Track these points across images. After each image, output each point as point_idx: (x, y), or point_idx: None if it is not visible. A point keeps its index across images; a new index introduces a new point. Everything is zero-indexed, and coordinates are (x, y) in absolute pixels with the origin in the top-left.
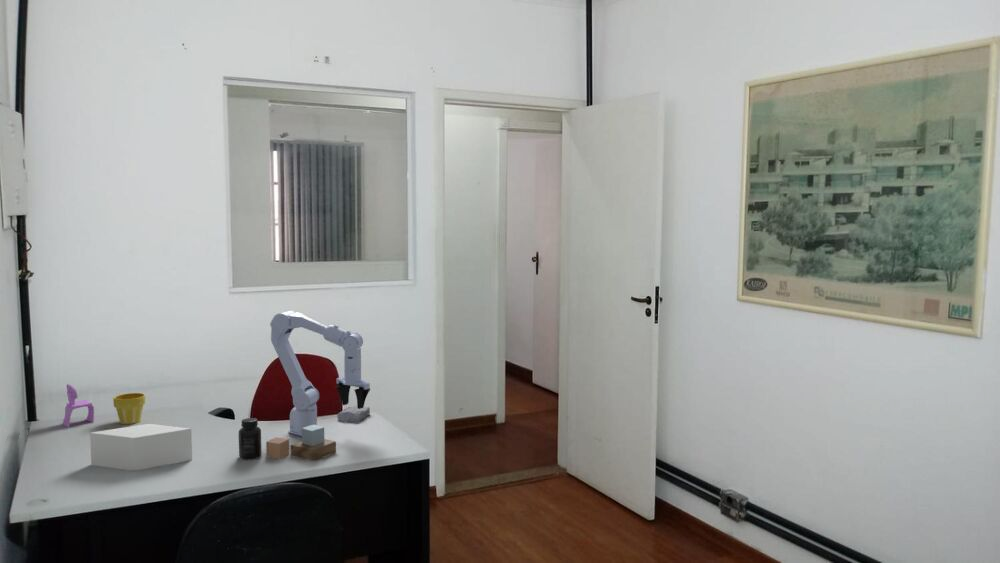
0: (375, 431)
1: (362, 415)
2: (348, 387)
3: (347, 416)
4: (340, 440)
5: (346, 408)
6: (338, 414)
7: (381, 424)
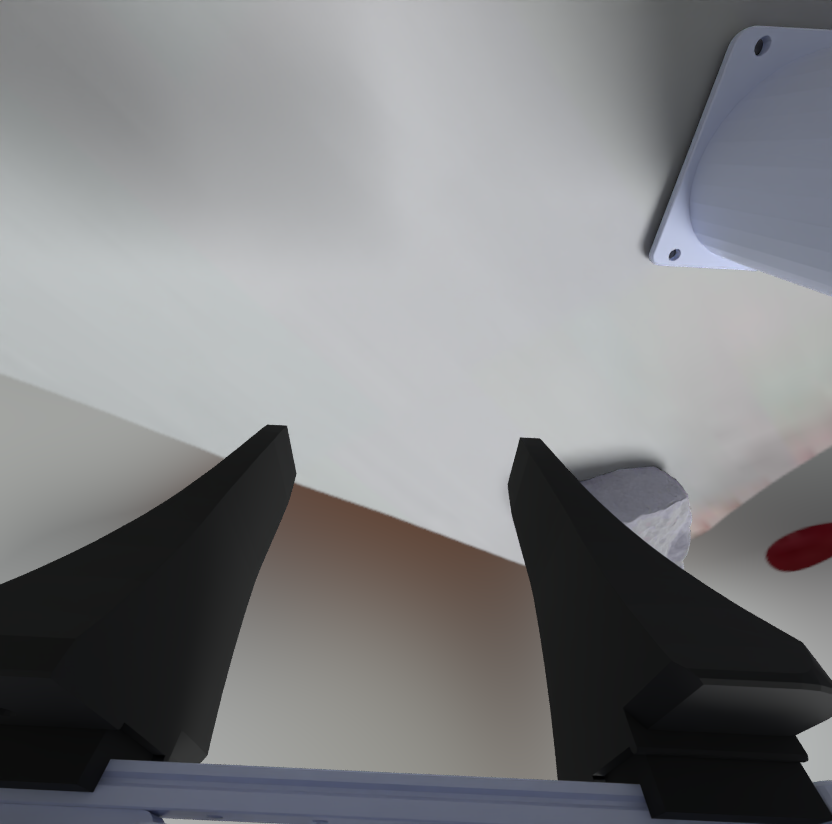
0: (361, 437)
1: None
2: (564, 709)
3: (613, 499)
4: (401, 185)
5: (680, 563)
6: (678, 494)
7: (419, 514)
